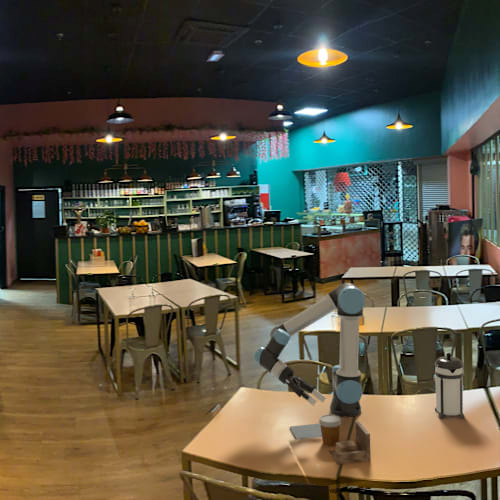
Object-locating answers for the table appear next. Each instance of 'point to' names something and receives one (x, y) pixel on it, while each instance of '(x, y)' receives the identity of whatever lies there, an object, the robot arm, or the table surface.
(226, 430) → the table surface
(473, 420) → the table surface
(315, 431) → the slate mat
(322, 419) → the disposable coffee cup
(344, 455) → the offcut rack
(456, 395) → the coffee press
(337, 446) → the offcut stack
